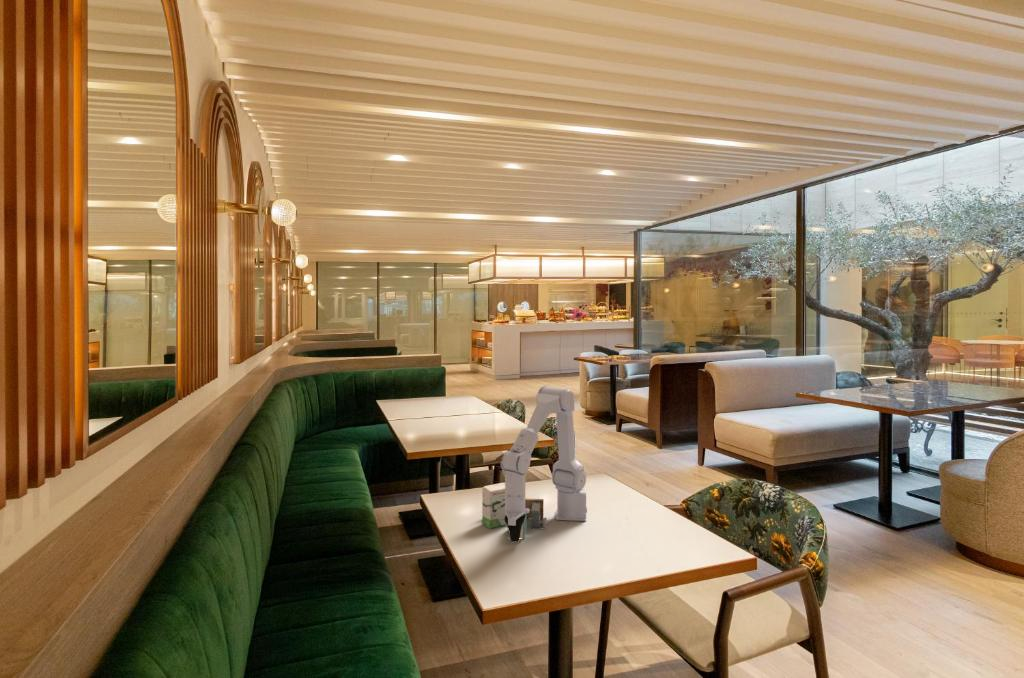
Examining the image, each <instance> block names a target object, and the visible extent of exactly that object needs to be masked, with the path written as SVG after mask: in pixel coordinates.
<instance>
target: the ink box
mask: <svg viewBox="0 0 1024 678" xmlns="http://www.w3.org/2000/svg"><path fill="white" fill-rule="evenodd" d="M481 490H482V494H481V495H482V502H481V503H482V505H481V506H482V509H481V511H482V512H481V513H482V517H481V519H482V522H481V523H482V525H483V526H485V527H487V528H489V529H495V528H498V527H501V525H503V526H505V525H506V523H505V520H504V518H505V516H506V514H505V512H504V509H505V482H500V483H494V484H490V485H485V486H483V487H482V489H481ZM497 526H498V527H497ZM506 526H507V525H506Z"/></svg>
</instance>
